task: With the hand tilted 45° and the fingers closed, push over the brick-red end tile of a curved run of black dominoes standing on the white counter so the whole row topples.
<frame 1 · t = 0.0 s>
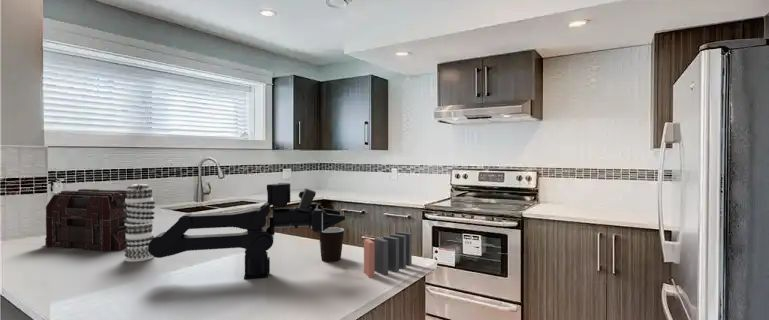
hand: (342, 215, 119), 17 cm above the countertop, tool horizontal, fingers open, 9 cm apart
crate: (98, 244, 150), on the countertop
domino 1: (369, 274, 113), on the countertop
domino 4: (397, 266, 121), on the countertop
coffee mug: (332, 258, 131), on the countertop
domino 3: (390, 269, 118), on the countertop
domino 2: (381, 272, 115), on the countertop
decorative candle: (139, 258, 130), on the countertop
domino 5: (403, 263, 125), on the countertop
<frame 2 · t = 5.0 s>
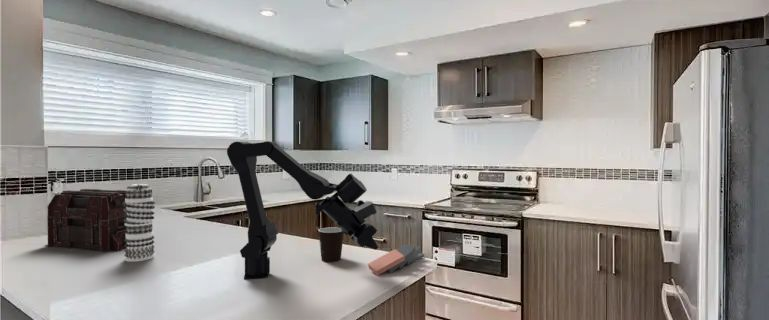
hand: (376, 248, 114), 8 cm above the countertop, tool tilted 45°, fingers closed
domino 1: (372, 269, 114), point 1 cm above the countertop, tilted 70°, touching domino 2
domino 4: (400, 261, 123), point 1 cm above the countertop, tilted 77°, touching domino 5
domino 3: (393, 265, 119), point 1 cm above the countertop, tilted 68°, touching domino 2
domino 2: (384, 268, 116), point 1 cm above the countertop, tilted 68°, touching domino 1, domino 3
domino 5: (404, 262, 126), on the countertop, tilted 90°, touching domino 4
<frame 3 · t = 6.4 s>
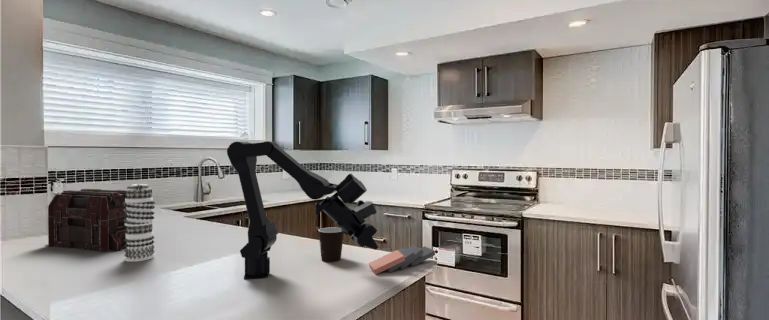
hand: (376, 248, 114), 8 cm above the countertop, tool tilted 45°, fingers closed
domino 1: (371, 268, 115), point 1 cm above the countertop, tilted 71°, touching domino 2
domino 4: (406, 261, 123), point 1 cm above the countertop, tilted 77°, touching domino 3
domino 3: (395, 265, 120), point 1 cm above the countertop, tilted 69°, touching domino 2, domino 4
domino 5: (407, 261, 126), on the countertop, tilted 90°
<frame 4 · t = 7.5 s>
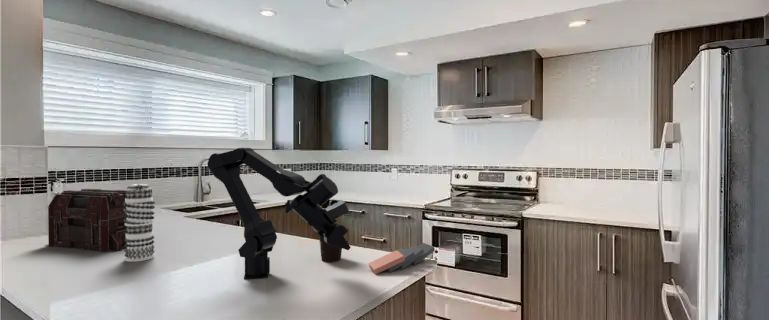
hand: (349, 248, 111), 8 cm above the countertop, tool tilted 45°, fingers closed
domino 4: (409, 260, 124), point 1 cm above the countertop, tilted 73°, touching domino 3, domino 5
domino 3: (396, 265, 120), point 1 cm above the countertop, tilted 70°, touching domino 2, domino 4
domino 5: (408, 260, 127), on the countertop, tilted 90°, touching domino 4
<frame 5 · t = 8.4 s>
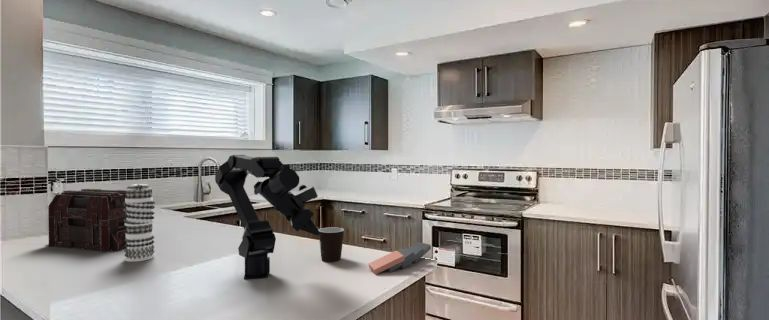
hand: (318, 234, 110), 13 cm above the countertop, tool tilted 45°, fingers closed
domino 1: (371, 268, 116), point 1 cm above the countertop, tilted 71°, touching domino 2
domino 4: (409, 258, 126), point 1 cm above the countertop, tilted 76°, touching domino 3, domino 5
domino 3: (397, 264, 120), point 1 cm above the countertop, tilted 70°, touching domino 2, domino 4
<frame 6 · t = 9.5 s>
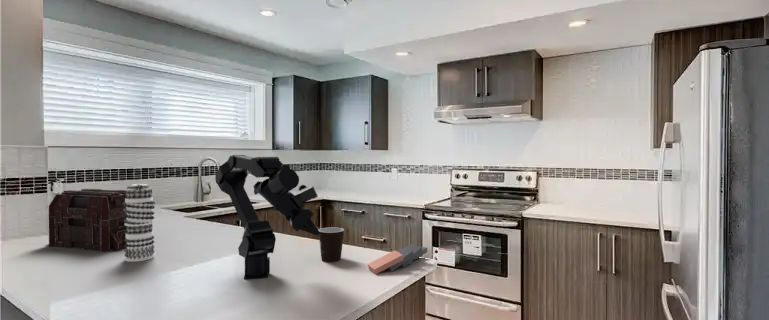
hand: (318, 234, 110), 13 cm above the countertop, tool tilted 45°, fingers closed
domino 4: (407, 255, 127), point 2 cm above the countertop, tilted 90°, touching domino 5
domino 3: (397, 264, 121), point 1 cm above the countertop, tilted 70°, touching domino 2
at the end: domino 5 tilted 90°; domino 1 tilted 70° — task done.
